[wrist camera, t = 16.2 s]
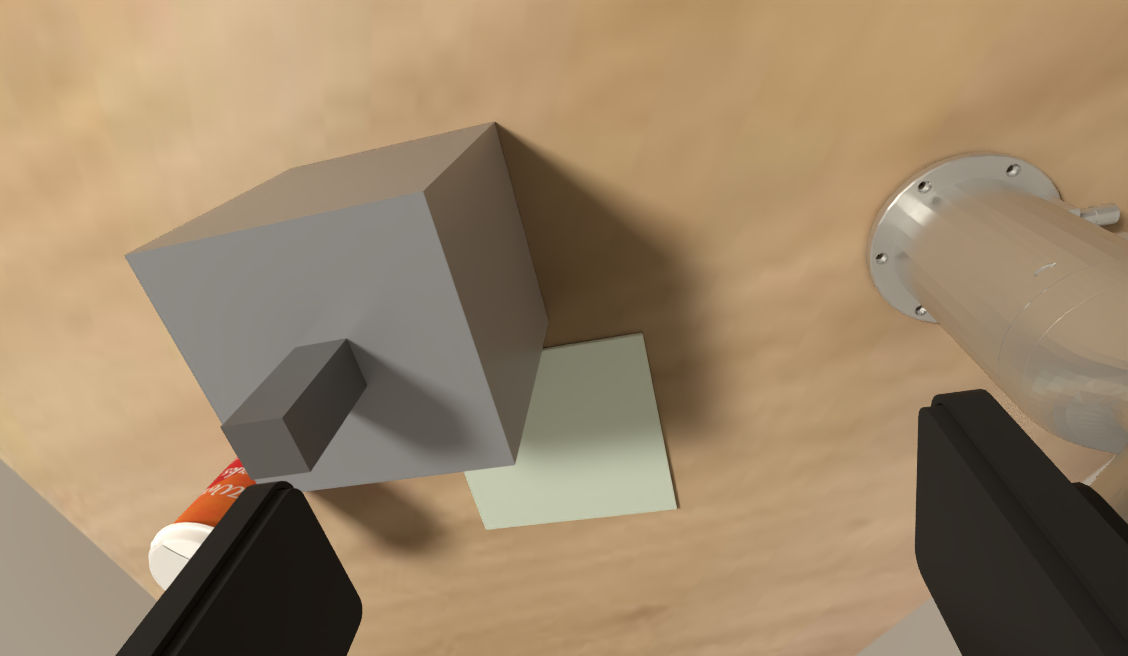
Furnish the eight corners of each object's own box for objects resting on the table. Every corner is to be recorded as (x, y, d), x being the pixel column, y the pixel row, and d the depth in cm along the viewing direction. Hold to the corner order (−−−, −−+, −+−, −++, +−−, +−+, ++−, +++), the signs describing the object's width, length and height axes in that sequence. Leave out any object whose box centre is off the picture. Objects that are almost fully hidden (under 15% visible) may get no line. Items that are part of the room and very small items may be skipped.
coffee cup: (333, 426, 59) (248, 552, 45) (328, 490, 63) (249, 623, 49) (244, 405, 58) (133, 525, 45) (245, 470, 62) (143, 599, 49)
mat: (642, 332, 51) (642, 334, 51) (676, 505, 60) (676, 509, 59) (425, 367, 55) (424, 369, 54) (486, 526, 63) (486, 529, 63)
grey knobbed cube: (494, 121, 44) (367, 245, 23) (548, 321, 51) (492, 562, 30) (290, 168, 47) (2, 318, 25) (368, 352, 54) (195, 591, 33)
